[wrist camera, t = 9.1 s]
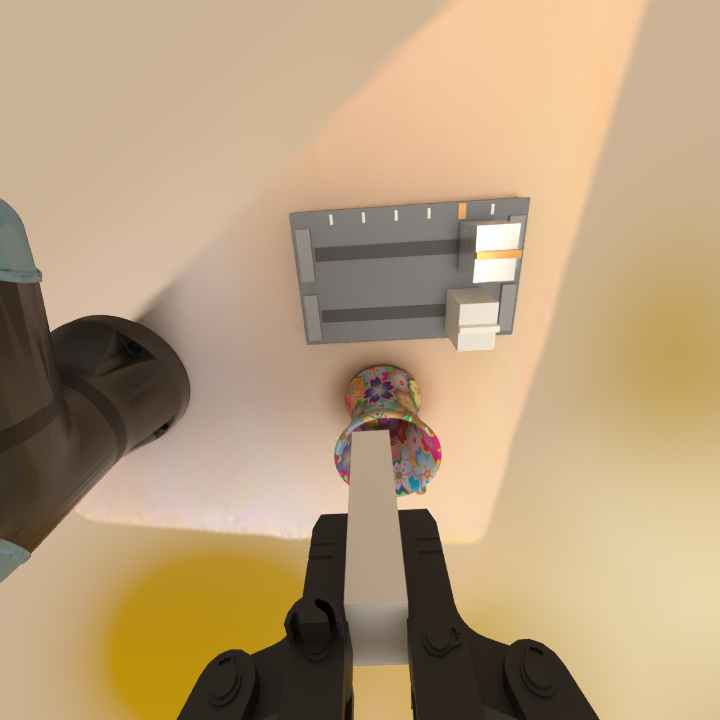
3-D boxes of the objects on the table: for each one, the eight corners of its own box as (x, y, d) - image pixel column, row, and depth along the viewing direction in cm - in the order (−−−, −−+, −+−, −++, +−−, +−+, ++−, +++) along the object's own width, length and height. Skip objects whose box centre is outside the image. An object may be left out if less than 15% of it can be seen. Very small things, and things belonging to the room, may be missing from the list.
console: (310, 335, 36) (296, 370, 29) (294, 212, 31) (272, 216, 24) (502, 325, 36) (539, 359, 28) (518, 197, 30) (567, 196, 23)
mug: (326, 384, 39) (313, 445, 29) (397, 344, 37) (408, 395, 27) (381, 455, 43) (385, 529, 33) (448, 423, 41) (473, 492, 31)
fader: (456, 270, 30) (474, 284, 25) (459, 221, 29) (479, 226, 24) (492, 268, 30) (517, 282, 25) (497, 219, 29) (525, 223, 24)
